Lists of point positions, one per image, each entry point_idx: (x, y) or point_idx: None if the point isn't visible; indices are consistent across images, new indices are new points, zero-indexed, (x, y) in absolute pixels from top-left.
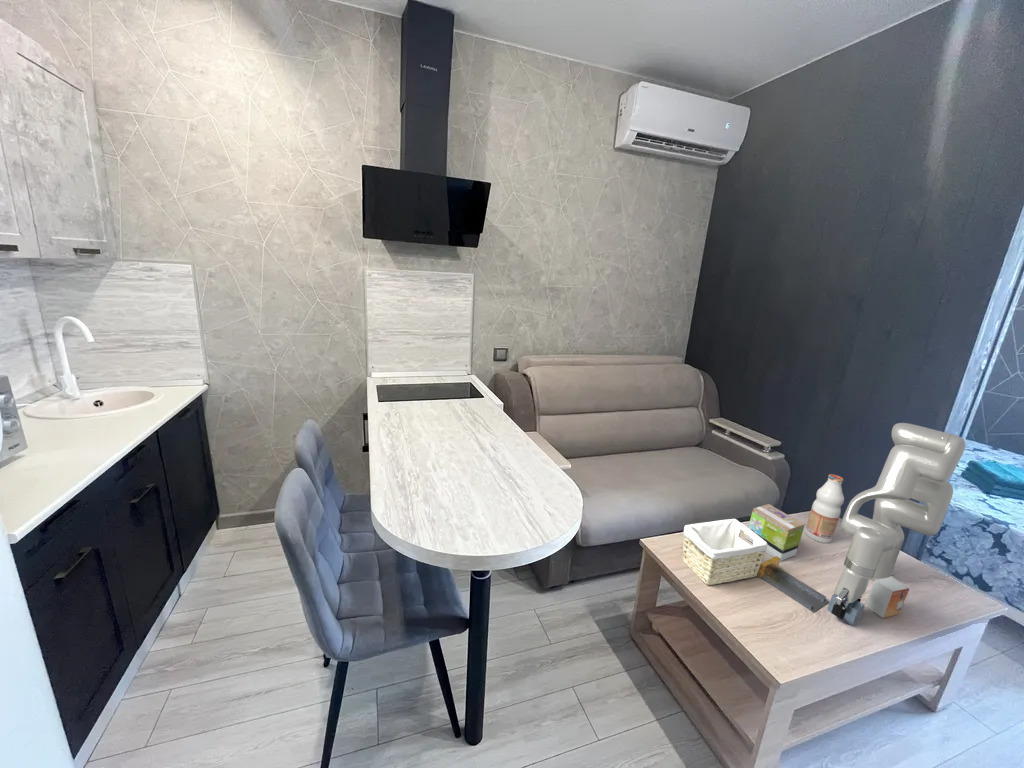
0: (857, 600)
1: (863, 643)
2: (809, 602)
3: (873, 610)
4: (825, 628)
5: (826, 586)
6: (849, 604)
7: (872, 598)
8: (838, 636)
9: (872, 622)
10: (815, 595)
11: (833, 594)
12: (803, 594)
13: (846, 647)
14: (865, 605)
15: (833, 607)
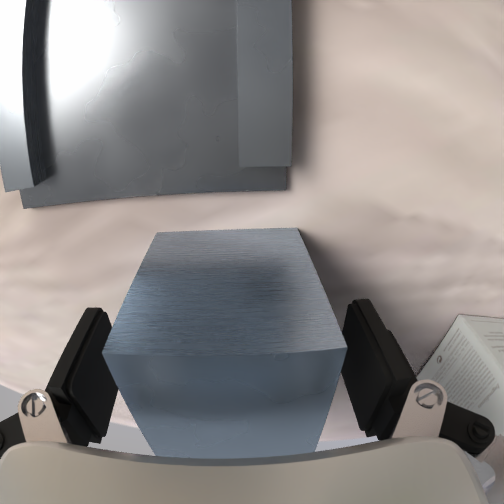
0: (361, 415)
1: (124, 412)
2: (75, 123)
3: (438, 353)
4: (10, 305)
5: (474, 97)
6: (175, 451)
7: (481, 382)
8: (38, 354)
9: (336, 386)
10: (236, 83)
11: (139, 355)
12: (129, 29)
13: (31, 383)
14: (459, 315)
15: (68, 347)
